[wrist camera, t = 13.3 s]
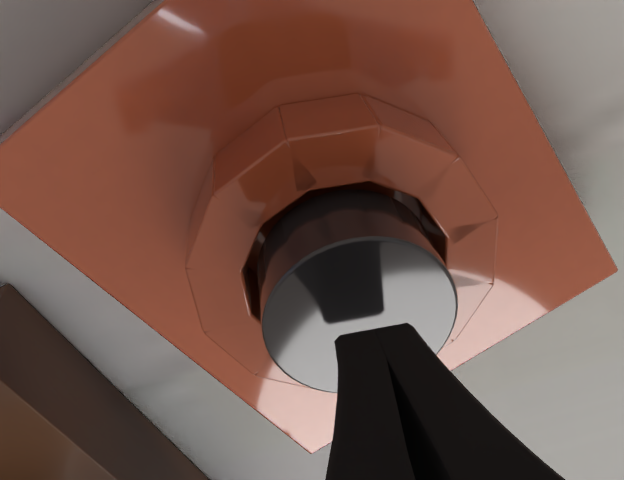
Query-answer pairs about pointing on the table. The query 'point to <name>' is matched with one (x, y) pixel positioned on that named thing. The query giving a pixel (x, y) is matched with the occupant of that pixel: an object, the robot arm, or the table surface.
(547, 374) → the table surface
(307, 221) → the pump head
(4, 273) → the table surface
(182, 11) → the button base
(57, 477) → the dial panel
